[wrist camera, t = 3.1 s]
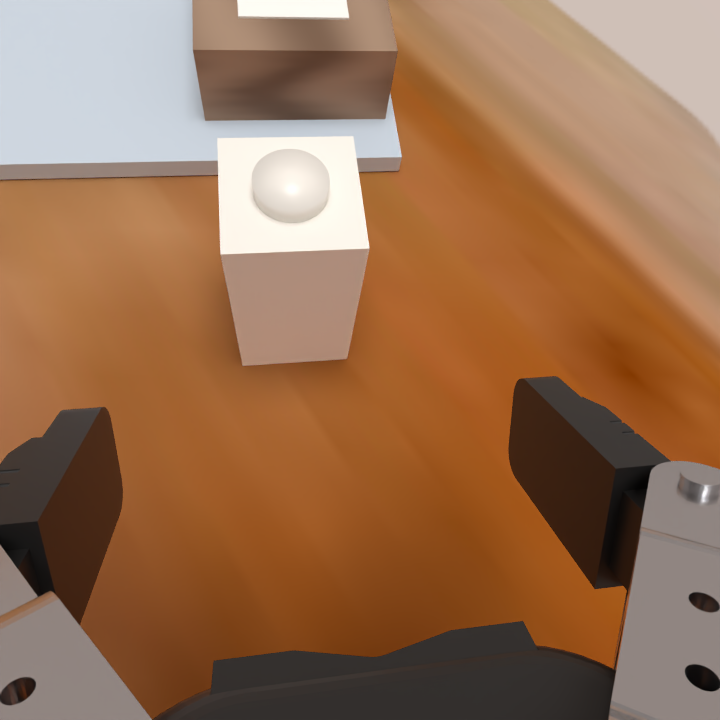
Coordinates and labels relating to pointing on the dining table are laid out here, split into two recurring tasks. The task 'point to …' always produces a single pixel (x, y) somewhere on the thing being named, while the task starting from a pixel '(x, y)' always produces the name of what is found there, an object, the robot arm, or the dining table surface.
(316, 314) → the block
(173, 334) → the dining table surface
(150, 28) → the build board
